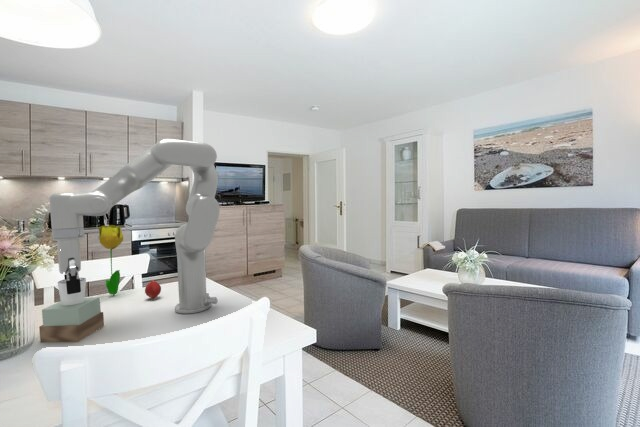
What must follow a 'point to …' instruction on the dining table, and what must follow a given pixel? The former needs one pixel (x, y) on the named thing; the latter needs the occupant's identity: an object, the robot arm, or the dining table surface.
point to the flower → (110, 240)
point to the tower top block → (71, 313)
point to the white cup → (71, 298)
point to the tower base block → (71, 330)
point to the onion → (153, 289)
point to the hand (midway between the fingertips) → (72, 289)
